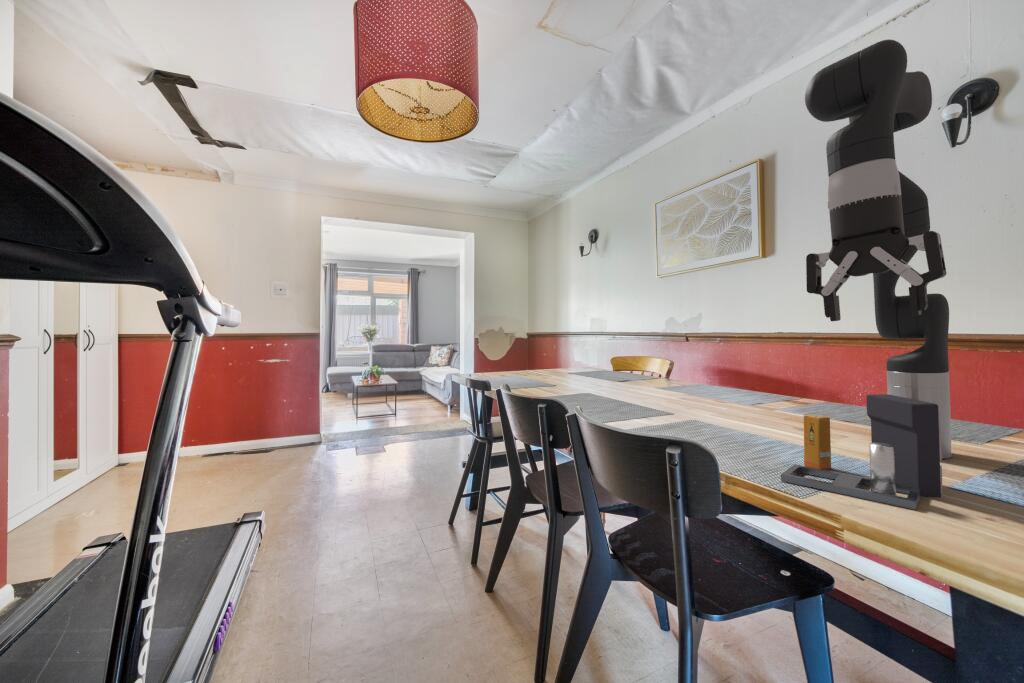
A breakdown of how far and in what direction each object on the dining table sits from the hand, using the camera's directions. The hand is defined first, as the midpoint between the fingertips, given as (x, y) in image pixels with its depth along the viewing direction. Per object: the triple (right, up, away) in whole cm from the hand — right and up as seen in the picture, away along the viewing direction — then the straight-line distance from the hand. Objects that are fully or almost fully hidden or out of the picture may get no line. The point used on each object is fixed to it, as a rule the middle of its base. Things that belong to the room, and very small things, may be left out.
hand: (873, 318), depth 56 cm
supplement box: (+9, -28, +22) cm, 37 cm away
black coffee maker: (+16, -28, +12) cm, 35 cm away
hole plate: (+6, -28, +12) cm, 31 cm away
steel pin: (+9, -28, +8) cm, 30 cm away
